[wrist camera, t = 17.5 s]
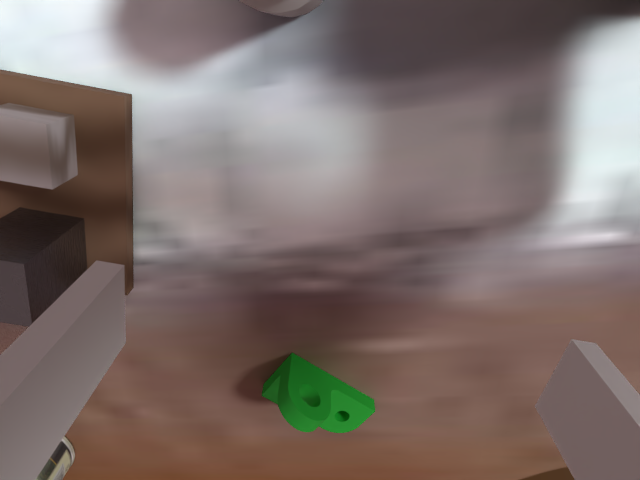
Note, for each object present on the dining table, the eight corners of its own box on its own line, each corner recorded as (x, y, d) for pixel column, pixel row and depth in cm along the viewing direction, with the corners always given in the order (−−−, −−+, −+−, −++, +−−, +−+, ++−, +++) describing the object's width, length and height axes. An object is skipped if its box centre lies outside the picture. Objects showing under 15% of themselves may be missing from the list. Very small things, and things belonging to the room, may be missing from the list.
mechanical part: (263, 383, 52) (253, 439, 45) (292, 351, 50) (285, 405, 43) (343, 426, 55) (345, 486, 48) (373, 398, 53) (380, 456, 46)
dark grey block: (19, 207, 41) (-58, 250, 33) (84, 218, 41) (23, 264, 33) (26, 262, 44) (-43, 315, 35) (87, 272, 44) (32, 327, 36)
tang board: (-35, 62, 37) (-92, 68, 32) (131, 94, 38) (101, 104, 33) (-2, 265, 46) (-43, 294, 41) (133, 287, 46) (109, 318, 41)
